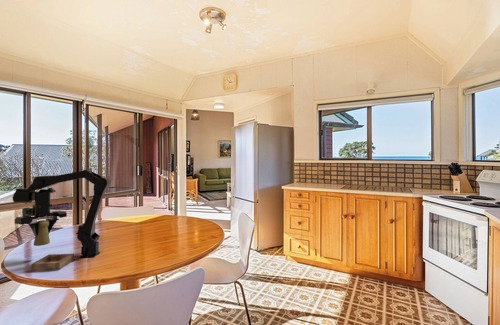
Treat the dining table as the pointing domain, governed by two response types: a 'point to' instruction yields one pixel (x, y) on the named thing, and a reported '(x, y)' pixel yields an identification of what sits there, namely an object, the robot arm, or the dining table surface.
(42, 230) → the cork
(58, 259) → the socket block
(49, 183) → the robot arm
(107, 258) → the dining table surface
